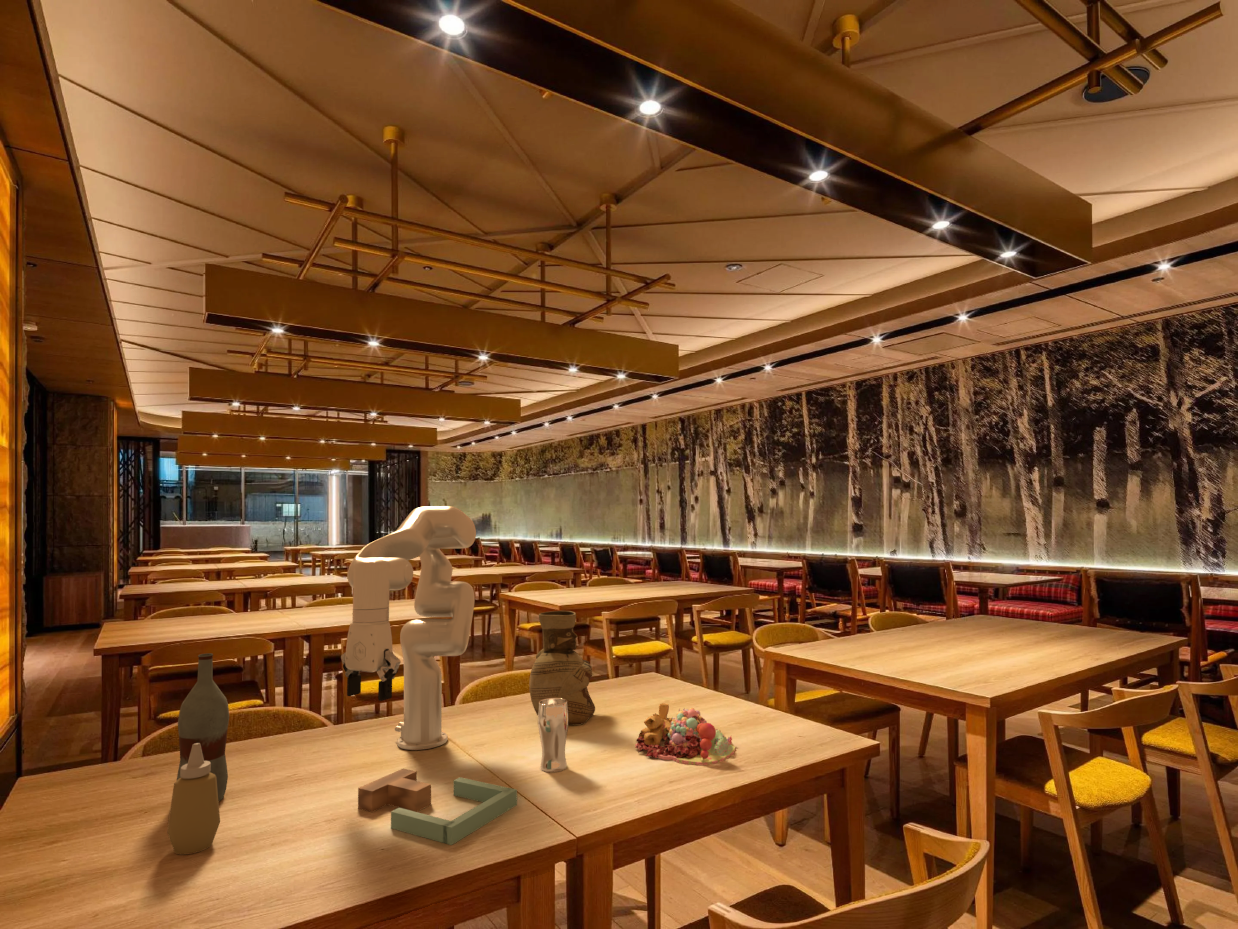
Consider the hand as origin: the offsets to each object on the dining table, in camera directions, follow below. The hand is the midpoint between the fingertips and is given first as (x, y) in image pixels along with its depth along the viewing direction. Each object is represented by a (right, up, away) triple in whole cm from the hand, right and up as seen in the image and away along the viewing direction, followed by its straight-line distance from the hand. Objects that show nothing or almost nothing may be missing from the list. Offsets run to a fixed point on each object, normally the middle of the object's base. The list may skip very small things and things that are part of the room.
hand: (369, 697), depth 148 cm
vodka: (-33, -20, -5) cm, 39 cm away
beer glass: (+39, -20, +10) cm, 45 cm away
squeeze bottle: (-22, -18, -26) cm, 39 cm away
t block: (+10, -19, -8) cm, 23 cm away
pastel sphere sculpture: (+71, -21, +23) cm, 77 cm away
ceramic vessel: (+38, -23, +50) cm, 67 cm away
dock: (+22, -18, -15) cm, 32 cm away
